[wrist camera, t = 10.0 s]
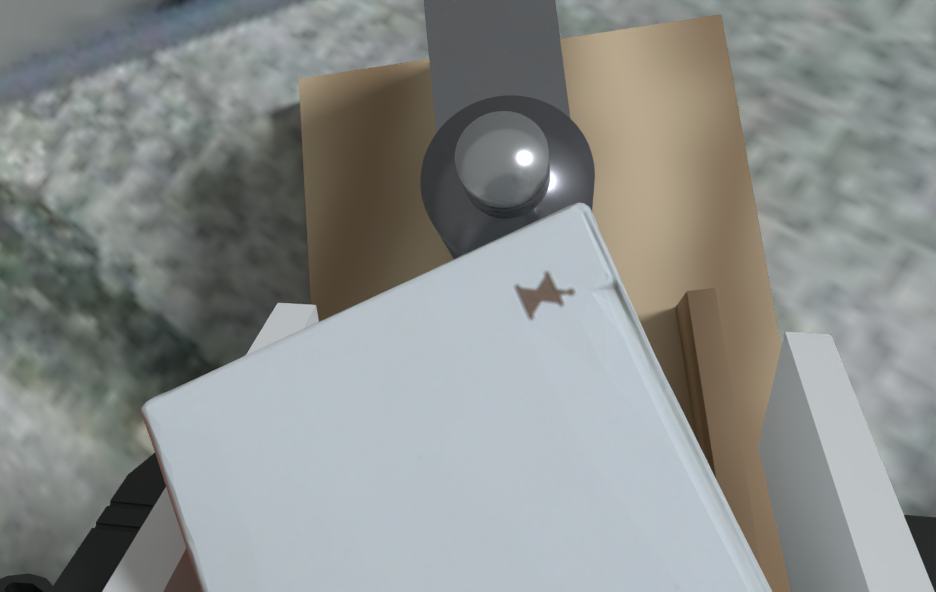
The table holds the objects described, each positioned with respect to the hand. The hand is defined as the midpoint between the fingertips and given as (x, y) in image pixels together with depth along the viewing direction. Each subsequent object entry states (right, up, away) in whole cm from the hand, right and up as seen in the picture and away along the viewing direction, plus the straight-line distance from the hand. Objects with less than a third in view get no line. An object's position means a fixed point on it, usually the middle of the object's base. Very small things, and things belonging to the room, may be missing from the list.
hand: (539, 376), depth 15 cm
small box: (0, -4, +3) cm, 5 cm away
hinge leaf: (0, +5, +12) cm, 13 cm away
